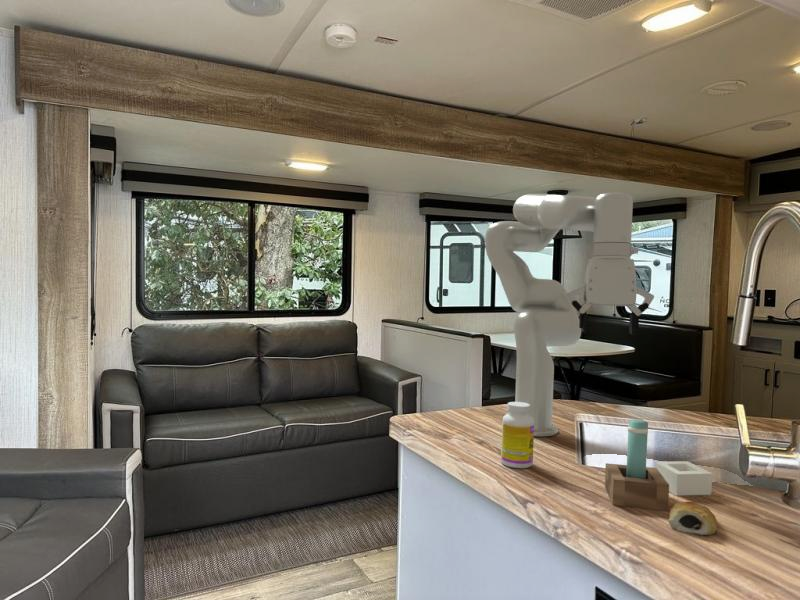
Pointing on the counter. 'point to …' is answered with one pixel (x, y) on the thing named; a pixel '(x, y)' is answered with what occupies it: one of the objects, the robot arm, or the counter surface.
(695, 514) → the pastry
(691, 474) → the white square holed block
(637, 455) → the dowel
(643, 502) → the brown square wooden frame
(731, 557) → the counter surface
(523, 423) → the supplement bottle
